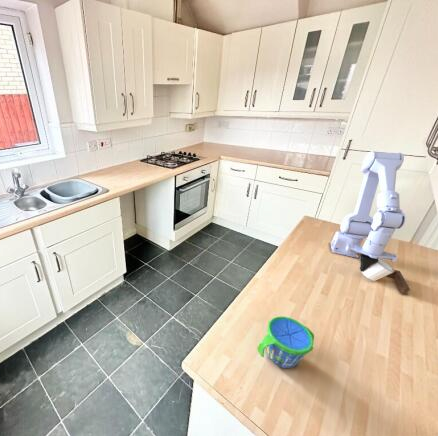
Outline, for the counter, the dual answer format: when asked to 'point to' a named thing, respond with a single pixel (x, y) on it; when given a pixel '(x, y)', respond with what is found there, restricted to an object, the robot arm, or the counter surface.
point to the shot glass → (378, 270)
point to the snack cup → (286, 341)
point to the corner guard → (400, 281)
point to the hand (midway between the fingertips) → (361, 270)
